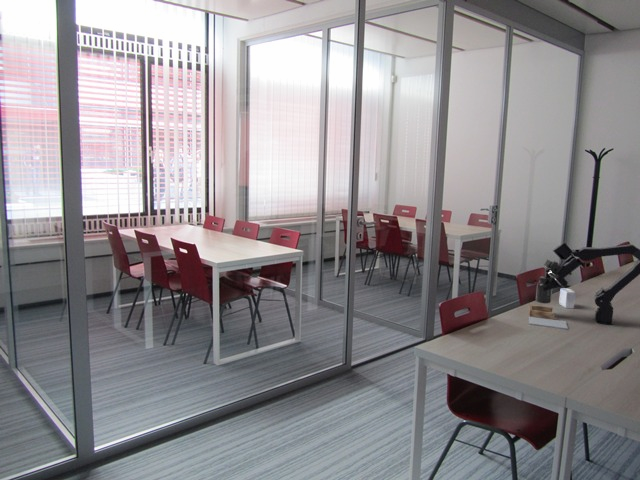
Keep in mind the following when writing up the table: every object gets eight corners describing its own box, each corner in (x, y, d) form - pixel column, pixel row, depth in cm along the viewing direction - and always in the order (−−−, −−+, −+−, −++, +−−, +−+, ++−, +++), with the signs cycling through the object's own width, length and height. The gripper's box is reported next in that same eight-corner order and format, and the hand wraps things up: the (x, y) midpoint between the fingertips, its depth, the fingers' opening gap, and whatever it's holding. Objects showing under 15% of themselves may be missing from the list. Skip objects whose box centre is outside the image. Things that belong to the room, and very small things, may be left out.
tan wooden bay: (551, 313, 252) (552, 307, 251) (553, 319, 241) (554, 313, 241) (528, 310, 255) (529, 304, 255) (529, 316, 245) (530, 310, 244)
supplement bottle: (548, 300, 250) (550, 276, 248) (552, 304, 243) (555, 279, 241) (533, 299, 251) (535, 275, 249) (538, 303, 244) (540, 278, 242)
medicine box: (573, 308, 261) (575, 292, 260) (565, 308, 261) (567, 291, 260) (566, 304, 269) (568, 288, 268) (558, 303, 269) (560, 287, 268)
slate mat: (565, 322, 238) (565, 321, 238) (567, 329, 228) (568, 328, 228) (528, 317, 243) (528, 316, 243) (529, 324, 233) (529, 323, 233)
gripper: (550, 251, 252) (525, 271, 255) (562, 258, 234) (535, 280, 237) (566, 267, 252) (540, 288, 255) (579, 276, 234) (551, 298, 237)
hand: (541, 288), depth 246 cm, fingers closed on supplement bottle, 6 cm apart
